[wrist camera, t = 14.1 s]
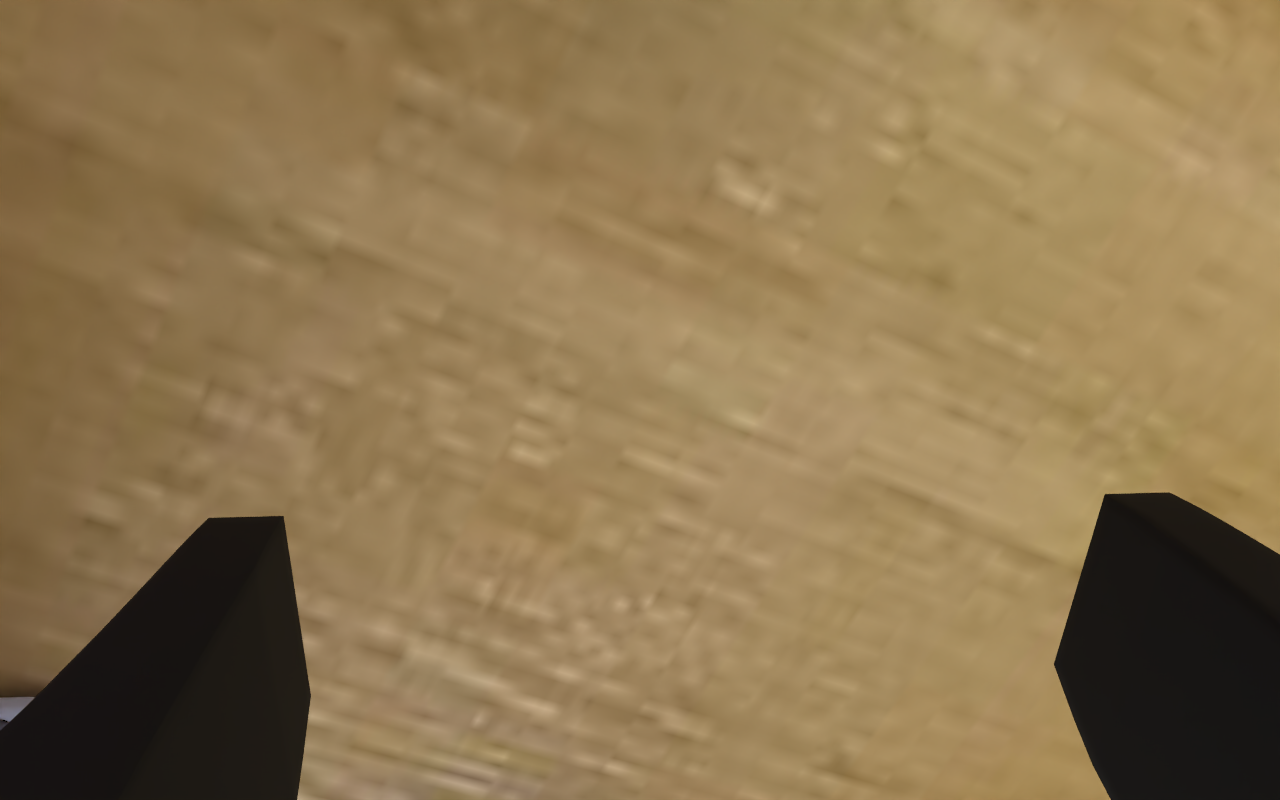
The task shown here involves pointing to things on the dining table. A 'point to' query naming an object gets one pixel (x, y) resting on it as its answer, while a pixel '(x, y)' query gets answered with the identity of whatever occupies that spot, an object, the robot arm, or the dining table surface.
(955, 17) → the dining table surface
